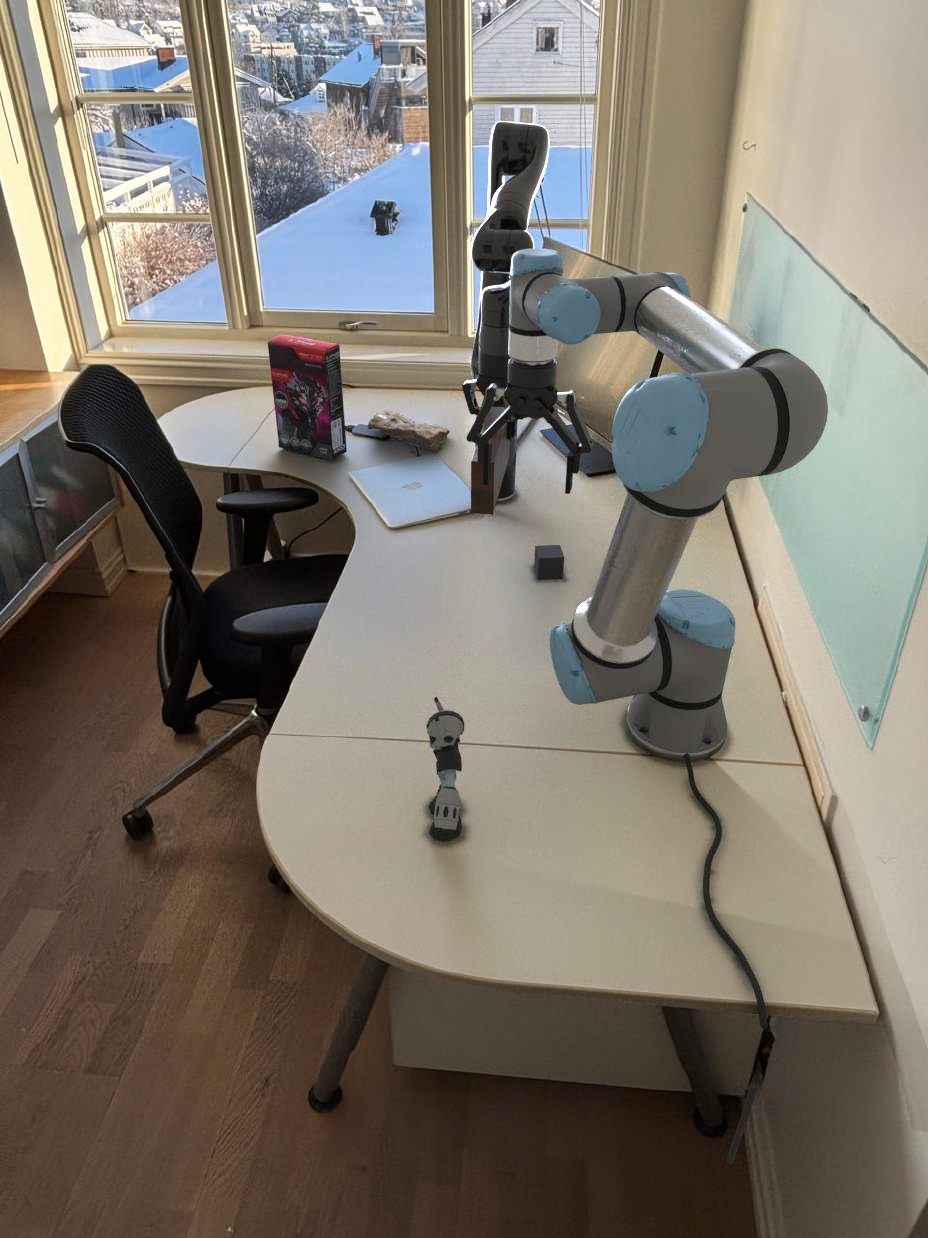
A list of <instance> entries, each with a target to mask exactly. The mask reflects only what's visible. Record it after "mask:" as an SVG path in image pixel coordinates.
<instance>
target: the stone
mask: <svg viewBox="0 0 928 1238" xmlns="http://www.w3.org/2000/svg"><path fill="white" fill-rule="evenodd" d="M367 429H369V430H378V431H380V433H381V434H383V435H386V436H389V437H390V440H392V441H401V442H403V443H405V444H409V445H411V446H414V447H419V448H422V447H423V448H425V449H428V450H430V451H437V450H439V448H440V447H441V444H442V443H443V441H444V440H445V439H446V438H448V435H449V434H450V431H451V430H450V429H449V428H447V427H444V426H441V425H438V424H429V423H425V422H419V421H415V420H412V418H408V417H406V416H404V415H403V414H401V413H400V412H397V411H393V410H384V411H376V412H375V413H374V414H373V415H372V416H371V417H370V419H369V421H368V422H367Z"/></svg>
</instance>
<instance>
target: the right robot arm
mask: <svg viewBox="0 0 928 1238" xmlns="http://www.w3.org/2000/svg"><path fill="white" fill-rule="evenodd" d="M563 267H564V265H563V255H562V253H560V252H559V251H557V250H555V249H551V248H540V247H539V248H538V247H537V248H535V247H534V248H533V249H523V250H519V251H517V252H515V253H514V255H513V256H512V259H511V270H510V276H509V280H510V307H509V343H508V355H509V356H510V357H511V358H510V359H509V360H508V383H507V388H502V387H498V386H497V384H495V383H493V384H491V386H490V387H489V388H488V390H487V395H486V402H485V403H484V405H483V407H482V409H481V411H480V413H479V415H478V417H477V418H476V417H475V419H474V422H473V423H472V426H471V428H470V429H469V432H468V433H467V435H466V441H467V442H468V443H474V444H475V443H476V444H477V446H478V463H479V464H484V473H483V485H488V484H489V482H490V481H491V475H492V442H488V441H489V440H490V439H491V437H492V436H493V435H494V434H495V433H496V432H497V431H498V430H499V429H500V428H501V427H502V426H503V425H504V424H505V423H506V422H507V421H508V420H509V419H510V418H511V417H512V416H513V415H514V414H516V415H517V416H519V417H520V418H524V419H528V418H529V419H534V420H540V419H542V418H543V419H544V420H545V422H546V423H547V424H549V425H550V426H551V428H552V429H553V430H554V432H555V433H556V435H558V437H559V438H560V440H561V441H562V442H563V443H564V445H565V446H566V448H567V449H568V450H569V451H568V453H567V456H566V470H565V471H566V472H565V485H564V486H565V487H564V494H565V495H570V494H571V492H572V489H573V479H574V474H577V475H578V473H579V472H580V469H581V461H582V455H583V454H590V453H591V452H592V449H593V447H594V442H593V438H592V437H591V434H590V432H589V429H588V428H587V425H586V423H585V420H584V417H583V416H582V413H581V411H580V408H579V407H578V404H577V391H576V390H575V389H570V390H569V391H561V392H560V391H558V390H557V375H558V360H556V358H557V357H558V355H559V342H560V343H562V344H565V345H578V344H580V343H583V342H584V341H586V340H588V339H589V338H591V337H592V336H593V335H602V334H603V335H604V334H611V333H624V332H625V333H627V332H636V333H637V334H638V335H640V336H641V337H642V338H643V339H644V340H646V341H647V342H649V343H650V344H651V345H652V346H653V347H654V348H656V349H657V350H658V351H660V352H661V353H662V354H663V355H664V356H666V357H667V358H668V359H669V360H671V361H672V362H673V363H675V365H677V366H678V367H679V368H681V369H682V370H683V371H684V372H675V371H674V372H670V373H669V372H668V373H666V374H663V375H661V376H655V377H654V376H653V377H649V378H645V379H642V380H640V381H638V382H637V383H636V384H634V385H633V386H631V387H630V388H629V390H627V392H626V393H625V394H624V395H623V397H622V399H621V401H620V402H619V405H618V406H617V409H616V411H615V415H614V418H613V423H612V427H611V436H612V437H613V442H612V443H611V444H610V445H611V446H610V447H611V457H612V462H613V466H614V469H615V472H616V474H617V476H618V478H619V480H620V481H621V482H622V485H623V487H624V489H625V490H626V493H627V494H626V496H625V499H624V503H623V505H622V508H621V510H620V514H619V518H618V520H617V523H616V526H615V529H614V532H613V535H612V538H611V540H610V544H609V547H608V550H607V553H606V556H605V557H604V558H605V559H604V562H603V564H602V567H601V570H600V573H599V576H598V579H597V582H596V585H595V588H594V590H593V594H592V596H591V597H588V598H586V599H585V600H583V602H581V604H579V606H578V607H577V609H576V610H575V613H574V615H573V618H572V620H571V623H564V622H562V623H560V624H558V625H555V626H554V627H552V629H551V631H550V634H549V651H550V656H551V662H552V666H553V671H554V674H555V677H556V679H557V682H558V685H559V687H560V690H561V691H562V693H563V695H564V697H565V698H566V699H567V700H568V701H569V702H570V703H571V704H573V705H576V706H583V705H589V704H593V705H597V704H599V703H603V702H608V701H613V700H619V699H624V698H628V697H632V698H631V700H630V701H631V702H630V704H629V705H628V707H627V711H626V719H625V728H626V732H627V734H628V736H629V738H630V739H631V741H632V742H634V744H636V745H637V746H638V747H639V748H640V749H641V750H643V751H645V752H646V753H648V754H650V755H651V756H654V757H656V758H659V759H662V760H666V761H670V762H675V763H684V764H685V766H686V770H687V775H688V783H689V786H690V789H691V792H692V793H693V795H694V797H695V799H696V800H697V801H698V802H699V804H700V805H701V806H702V808H703V809H704V810H705V811H706V812H707V813H708V815H709V816H710V817H711V819H712V821H713V823H714V827H715V828H714V829H715V835H714V839H713V842H712V844H711V846H710V848H709V850H708V852H707V854H706V857H705V860H704V866H703V867H704V868H703V875H702V876H703V877H702V896H703V897H702V898H703V902H704V907H705V909H706V913H707V916H708V918H709V920H710V923H711V924H712V926H713V927H714V929H715V930H716V932H717V933H718V935H719V936H720V937H721V938H722V939H723V942H725V943H726V944H727V945H728V947H729V948H730V950H731V951H732V952H733V954H734V955H735V956H736V958H737V959H738V961H739V963H740V965H741V967H742V968H743V971H744V973H745V975H746V976H747V978H748V980H749V982H750V986H751V987H752V990H753V993H754V996H755V1000H756V1005H757V1010H758V1017H759V1018H758V1019H759V1026H760V1027H761V1029H762V1030H767V1029H768V1026H769V1025H768V1015H767V1008H766V1003H765V999H764V995H763V992H762V989H761V986H760V984H759V982H758V979H757V977H756V975H755V973H754V971H753V969H752V967H751V965H750V963H749V961H748V959H747V957H746V955H745V954H744V952H743V951H742V950H741V948H740V947H739V946H738V944H737V943H736V942H735V941H734V939H733V938H732V937H731V936H730V934H728V931H726V930H725V928H724V927H723V926H722V924H721V922H720V920H718V917H717V915H716V912H715V910H714V907H713V904H712V900H711V891H710V884H711V872H712V865H713V860H714V857H715V855H716V852H717V851H718V849H719V846H720V844H721V842H722V837H723V827H722V823H721V820H720V818H719V816H718V814H717V813H716V811H715V810H714V809H713V807H712V806H711V805H710V803H708V801H707V800H706V799H705V798H704V797H703V795H702V794H701V792H700V791H699V789H698V787H697V784H696V779H695V773H694V769H693V765H692V763H694V762H700V761H703V760H706V759H709V758H711V757H714V755H716V754H718V752H720V751H721V750H722V748H723V747H724V744H725V743H726V740H727V739H726V738H727V734H728V721H727V716H726V712H725V708H724V707H725V706H724V701H723V692H724V686H725V682H726V678H727V672H728V668H729V663H730V658H731V654H732V651H733V650H732V649H733V647H734V645H735V642H736V641H735V637H736V636H735V635H736V617H735V616H734V614H733V612H732V611H731V609H730V608H729V607H728V606H727V605H726V604H725V603H723V602H722V601H720V600H719V599H717V598H715V597H713V596H711V595H709V594H706V593H703V592H701V591H697V590H692V589H686V588H673V589H668V588H669V586H670V584H671V582H672V580H673V577H674V575H675V572H676V570H677V568H678V566H679V564H680V561H681V559H682V557H683V554H684V552H685V549H686V548H687V545H688V544H689V540H690V538H691V536H692V534H693V531H694V529H695V527H696V524H697V523H698V520H699V518H703V517H705V516H707V515H709V514H710V513H712V512H714V511H715V510H716V509H717V508H718V507H719V505H720V504H721V502H722V500H723V498H724V496H725V494H726V491H727V489H728V487H729V485H730V483H731V482H733V481H735V480H741V479H748V478H749V479H751V478H756V477H757V478H758V477H763V476H771V475H774V474H778V473H782V472H784V471H787V470H789V469H791V468H793V467H794V466H796V465H797V464H799V463H800V462H801V461H803V460H805V458H807V457H808V456H809V455H810V453H812V451H813V450H814V449H815V447H816V446H817V445H818V443H819V441H820V440H821V438H822V436H823V434H824V431H825V428H826V426H827V422H828V416H829V415H828V414H829V403H828V395H827V392H826V390H825V386H824V384H823V382H822V381H821V378H820V377H819V375H817V373H816V372H815V371H814V369H812V368H811V366H809V365H808V364H807V363H806V362H805V361H803V360H802V359H800V358H798V357H797V356H796V355H794V354H793V353H791V352H789V351H788V350H786V349H783V348H779V347H767V348H766V347H764V346H763V345H761V344H760V343H758V342H756V341H755V340H753V339H752V338H750V336H748V335H746V334H745V333H743V332H741V331H740V330H738V329H737V328H735V327H734V326H733V325H732V324H729V323H728V322H726V321H725V320H723V319H722V318H720V317H719V316H717V315H716V314H714V313H713V312H712V311H709V310H708V309H707V308H705V307H704V306H702V305H700V304H699V303H697V302H696V301H694V300H693V299H692V296H691V289H690V286H689V285H688V284H687V280H686V278H685V277H684V276H683V275H682V274H681V273H677V272H663V271H655V272H650V273H640V274H639V273H638V274H637V273H636V274H626V275H625V274H623V275H612V276H595V277H582V278H581V277H580V278H567V277H565V276H564V275H563V273H564V268H563ZM501 396H504V397H505V399H506V400H507V402H508V403H509V405H510V406H509V407H508V408H507V409H506V410H505V411H504V412H503V413H502V414H501V416H500V417H499V418H498V419H497V420H496V421H495V422H494V423H493V424H492V425H491V426H490V427H489V428H488V429H487V430H486V431H485V432H484V433H483V434H482V435H481V434H479V433H478V432H479V430H480V428H481V426H482V424H483V423H484V421H485V419H486V417H487V415H488V413H489V412H490V410H491V408H492V406H493V404H494V402H495V401H498V400H499V399H500V397H501ZM558 401H559V402H560V403H561V406H563V407H564V408H566V412H567V415H568V417H569V419H570V422H571V424H572V426H573V429H574V431H575V434H576V435H577V437H576V436H575V435H574V433H573V432H572V431H571V429H570V428H569V427H568V426H567V424H566V423H565V421H564V419H563V418H562V417H561V416H560V415H559V412H558V410H557V409H556V408H555V404H557V402H558ZM577 438H578V439H577ZM756 1094H757V1088H756V1087H751V1086H749V1088H748V1090H747V1094H746V1099H745V1102H744V1105H743V1109H742V1112H741V1115H740V1118H739V1120H738V1123H737V1126H736V1129H735V1133H734V1134H733V1139H732V1142H731V1144H730V1148H729V1150H728V1154H727V1158H726V1163H727V1164H728V1165H730V1166H731V1165H733V1164H734V1162H735V1159H736V1155H737V1153H738V1149H739V1146H740V1143H741V1140H742V1137H743V1135H744V1132H745V1129H746V1126H747V1123H748V1120H749V1118H750V1115H751V1112H752V1108H753V1104H754V1100H755V1098H756Z"/></svg>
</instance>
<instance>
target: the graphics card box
mask: <svg viewBox="0 0 928 1238" xmlns="http://www.w3.org/2000/svg"><path fill="white" fill-rule="evenodd" d="M340 347H341V346H340V343H335V342H333V343H332V342H328V341H322V340H317V339H311V338H306V337H300V336H295V335H289V334H285V333H282V334H279V335H277V336H274V337H273V338H271V339H270V340H268V341H267V351H268V359H269V367H270V369H269V370H270V377H271V378H270V379H271V385H272V386H271V387H272V395H273V403H274V412H275V413H274V414H275V423H276V433H277V441H278V442H277V443H278V448H279V449H283V450H287V451H288V450H289V451H292V452H297V453H301V454H305V455H309V456H314V457H317V458H322V459H326V460H330V461H333V460H335V459H337V458H339V457H340V456H342V455H344V454H345V453H347V451H348V449H347V447H348V446H347V434H346V420H345V407H344V406H345V405H344V393H343V380H342V364H341V363H342V362H341V349H340Z"/></svg>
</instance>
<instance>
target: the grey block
mask: <svg viewBox="0 0 928 1238" xmlns="http://www.w3.org/2000/svg"><path fill="white" fill-rule="evenodd" d="M562 549H563V548H562V546H561V544H547V545H546V544H544V545H541V544H540V545H534V560H533V569H534V572H535V576H536V580H537V581H556V580H563V579H564V569H565V554H564V551H563V550H562Z"/></svg>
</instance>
